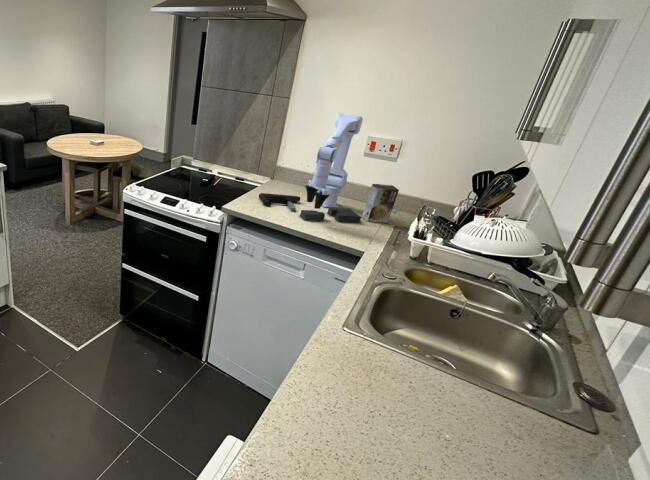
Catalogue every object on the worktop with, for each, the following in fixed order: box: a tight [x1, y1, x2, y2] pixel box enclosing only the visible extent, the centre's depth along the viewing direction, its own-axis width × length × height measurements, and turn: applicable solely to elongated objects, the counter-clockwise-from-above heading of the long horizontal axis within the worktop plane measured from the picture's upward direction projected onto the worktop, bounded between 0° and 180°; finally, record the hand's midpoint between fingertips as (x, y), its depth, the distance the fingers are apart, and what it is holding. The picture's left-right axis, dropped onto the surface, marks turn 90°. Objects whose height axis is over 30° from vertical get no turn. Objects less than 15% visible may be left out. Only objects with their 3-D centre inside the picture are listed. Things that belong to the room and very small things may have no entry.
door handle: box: [258, 192, 301, 212], centre depth 188 cm, size 3×20×16 cm
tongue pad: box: [299, 209, 326, 222], centre depth 173 cm, size 5×9×3 cm, turn 92°
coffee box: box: [361, 183, 400, 224], centre depth 176 cm, size 9×6×16 cm
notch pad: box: [326, 207, 362, 224], centre depth 177 cm, size 10×10×3 cm
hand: (313, 205), depth 171 cm, fingers open, 7 cm apart
